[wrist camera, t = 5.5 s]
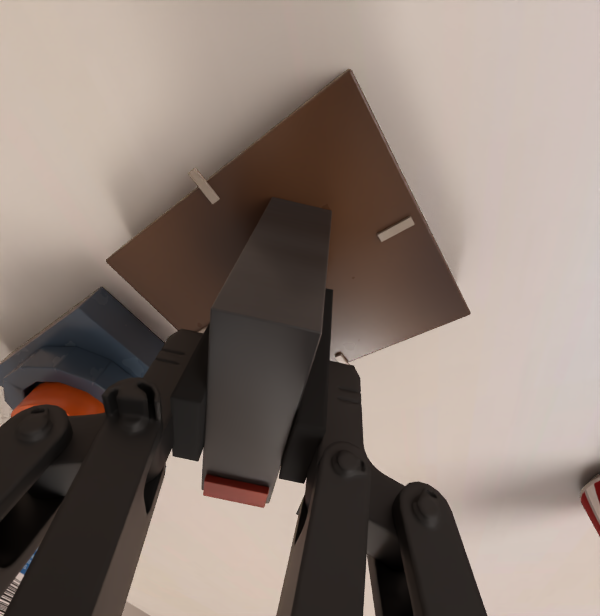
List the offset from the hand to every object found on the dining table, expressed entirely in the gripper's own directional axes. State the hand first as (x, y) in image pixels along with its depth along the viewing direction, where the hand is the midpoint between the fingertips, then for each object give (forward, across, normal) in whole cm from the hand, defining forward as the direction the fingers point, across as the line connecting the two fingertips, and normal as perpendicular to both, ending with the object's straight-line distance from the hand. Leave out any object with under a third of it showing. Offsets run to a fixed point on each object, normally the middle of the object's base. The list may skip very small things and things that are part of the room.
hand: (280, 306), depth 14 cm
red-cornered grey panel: (+1, 0, 0) cm, 1 cm away
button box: (+4, -11, -11) cm, 16 cm away
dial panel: (+4, 0, 0) cm, 4 cm away
